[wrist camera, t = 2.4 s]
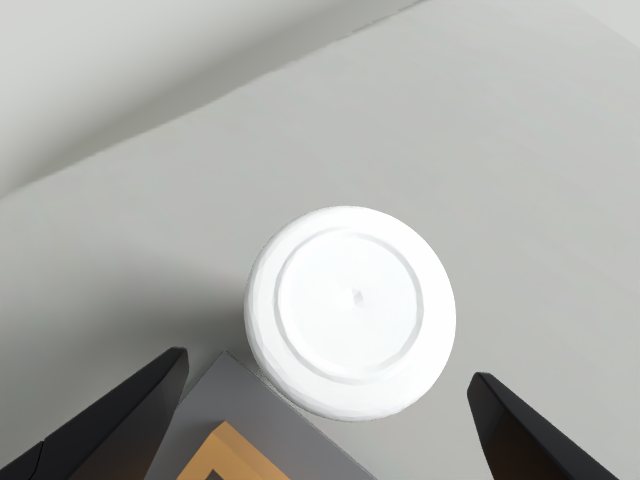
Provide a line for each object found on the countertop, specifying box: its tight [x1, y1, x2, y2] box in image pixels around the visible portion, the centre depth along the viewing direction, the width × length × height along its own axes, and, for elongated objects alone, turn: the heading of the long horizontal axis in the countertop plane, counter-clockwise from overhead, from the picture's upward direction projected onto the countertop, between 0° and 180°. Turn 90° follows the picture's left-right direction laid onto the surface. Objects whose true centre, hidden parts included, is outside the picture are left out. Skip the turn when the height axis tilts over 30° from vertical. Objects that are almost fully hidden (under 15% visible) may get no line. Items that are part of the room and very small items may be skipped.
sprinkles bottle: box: [244, 206, 456, 422], centre depth 12 cm, size 5×5×13 cm
